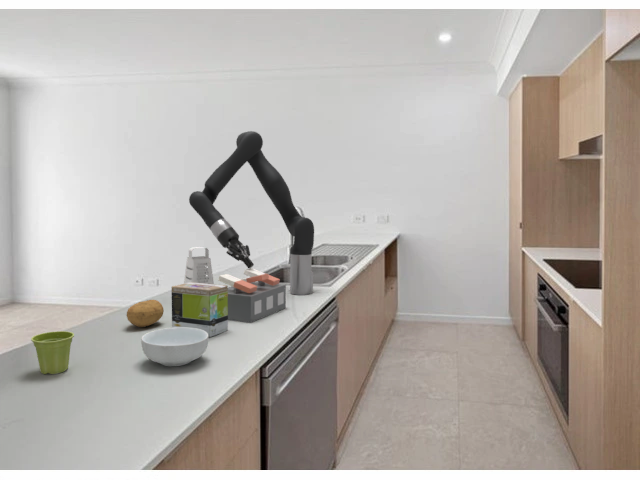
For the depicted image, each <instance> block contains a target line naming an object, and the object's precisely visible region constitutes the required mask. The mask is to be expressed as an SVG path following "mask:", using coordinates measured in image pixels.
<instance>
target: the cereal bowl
mask: <svg viewBox="0 0 640 480" xmlns="http://www.w3.org/2000/svg"><path fill="white" fill-rule="evenodd" d="M140 340H141V341H140V342H141V347H142V348H141V349H142V351H143V354H144V355H145V357H146V358H148V360H151V361H153V362H155V363H158V364H161V365H162V366H165V367H179V366H184V365H188V364H190V363H191V362H193V361H194V360H197V359H199V358H200V357H202V355H204V353H205V352H206V351H207V348H208V347H209V345H208V344H209V337H208V333H207V332H206V331H204V330H201V329H197V328H189V327H173V328H172V327H165V328H159V329H155V330H152V331H149V332H147V333H145V334H143V335H142V336H141V339H140Z"/></svg>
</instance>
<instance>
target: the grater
mask: <svg viewBox="0 0 640 480" xmlns="http://www.w3.org/2000/svg"><path fill="white" fill-rule="evenodd" d="M194 249H204V250H205V251H204V252H205V253H204V255H203V256H199V255H198V256H193V250H194ZM209 255H210V251H209V248H208V247H206V246H205V247H204V246H193V247H190V248H189V249H188V256H186V265H185V274H184V280H183V284H185V283H190V282H194V283H205V284H215V283H214V274H213V268H212V266H213V265H212V261H211V257H210V256H209Z"/></svg>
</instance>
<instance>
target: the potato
mask: <svg viewBox="0 0 640 480" xmlns="http://www.w3.org/2000/svg"><path fill="white" fill-rule="evenodd" d="M164 310H165V309H164V306H163V304H162V303H161V302H160V301H158V300H157V299H149V300H144V301H139V302H136V303H134V304H133V305H131V306H129V308H128V309H127V311H126V318H127V321H128V322H129V323H130V324H131V325H133V326H134V327H139V328H146V326H147V327H148V326H151V325H154V324H156V323H157V322H159V320H160V319H161V318H162V317H163V315H164Z"/></svg>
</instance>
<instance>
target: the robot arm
mask: <svg viewBox="0 0 640 480" xmlns="http://www.w3.org/2000/svg"><path fill="white" fill-rule="evenodd" d="M235 142H236V144H235V145H236V149H235V150H234V151H233V152H232V153H231V155H230V156H229V157H228V158H227V159H225V161H224V162H222V163H221V164H220V165H219V166H218V167H217V168H216V169H215V170H214V171H213V172H212V174H210V176H209V177H208V178H207V180H205V182H204V188H203V190H202V191H201V190H200V191H193V192H192V193H191V194H190V195H189V198H188V201H189V202H188V203H189V204H190V206H191V208H192V209H193V210H194V211H195V213H197V215H198V216H199V217H200V218H201V219H202V220H203V222H204V224H205V225H206V226H207V228H209V230H210V231H211V233H212V235H213V236H214V238H216V240H217V241H218V242H219V244H220V245H221V246H222V248H225V249H227V251H226V254H227V255H228V256H230V257H232V258H233V259H235V260H236V261H238V262H243V264H244V265H245V266H246V267H247V269H250V268H253V266H254V263H253V261H252V260H251V258H250V256H251V252H250V247H249V245H248V244H246V245H244V243H242V242H241V241H240V240H239V238H240V235H239V234H238V232H237V231H236V230H235V229H234V227H233V226H232V225H231V224H230V223H229V221H228V220H227V219H226V218H225V217H224V216H223V215H222V213H220V211H219V210H218V209H217V208H216V207H215V206H214V203H215V201H216V200H217V198H218V197H219V194H220V193H221V192H222V191H223V190H224V189H225V187H226V186H227V185H228V184H229V182H230V181H231V179H233V177H234V176H235V175H236V173H238V171H239V170H240V169H241V168H243V166H244V165H245V164H246V163H248V164H249V165H250V167H251V169H252V170H253V172H254V174H255V176H256V178H257V180H258V181H259V183H260V185H261V186H262V188H263V190H264V192H265V194H267V197H268V198H269V199H270V201H271V202H272V204H273V205H274V207H275V209H276V210H277V211H278V213H279V214H280V217H281V218H282V221H283V222H284V225H285V228H286V229H287V231H288V233H289V234H290V235H291V236H292V237H293V245H292V246H291V247H290V257H289V258H290V259H289V260H290V261H289V263H290V264H289V269H290V270H289V294H291V295H297V296H298V295H299V296H303V295H304V296H305V294H306V295H310V294H313V293H314V271H312V260H313V259H312V256H313V255H312V254H313V253H312V252H313V249H314V241H315V225H314V222H313V221H312V220H311V219H310V218H308V217H304V216H302V215H301V213H299V211H298V209H296V207H295V205H294V202H293V200H292V195H291V192H290V188H289V186H288V184H287V182H286V181H285V179H284V178H283V176H282V174H281V173H280V171H278V170H277V169H276V168H275V166H274V165H272V164H271V163H270V161H269V160H268V159H267V158H266V156H265V154H264V153H263V151H262V148H263V144H264V141H263V138H262V136H261V134H260V133H259V132H257V131H252V130H250V131H245V132H242V133H240V134H238V135H237V138H236V141H235ZM312 292H313V293H312ZM309 293H310V294H309Z"/></svg>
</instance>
